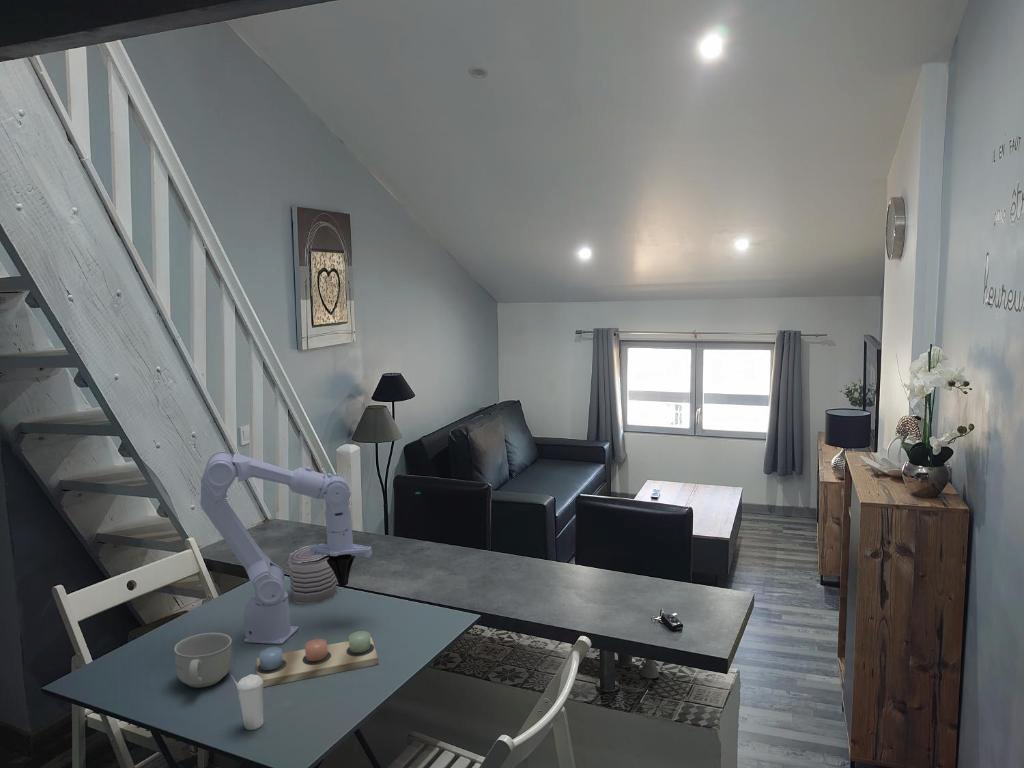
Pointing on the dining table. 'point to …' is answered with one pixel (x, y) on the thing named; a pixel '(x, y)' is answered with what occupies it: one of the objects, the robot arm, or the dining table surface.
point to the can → (311, 577)
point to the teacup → (203, 659)
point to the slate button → (271, 658)
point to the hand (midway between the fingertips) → (343, 585)
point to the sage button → (359, 641)
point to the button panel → (317, 664)
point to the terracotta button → (316, 650)
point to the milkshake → (251, 700)
